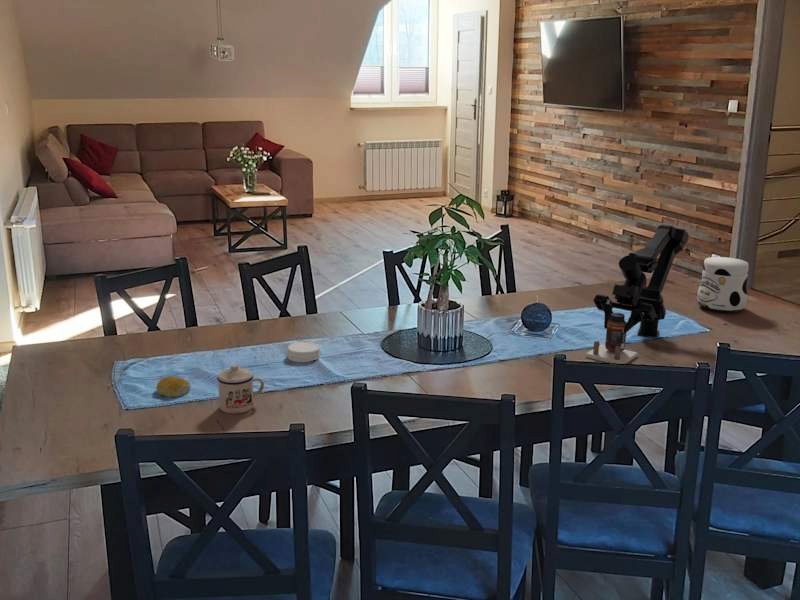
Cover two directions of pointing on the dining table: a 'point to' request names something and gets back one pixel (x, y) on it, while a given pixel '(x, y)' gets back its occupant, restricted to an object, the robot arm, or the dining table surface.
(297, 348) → the white short cylinder
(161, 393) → the bread roll
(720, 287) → the milk container
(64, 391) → the dining table surface
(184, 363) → the dining table surface
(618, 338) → the supplement bottle
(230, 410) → the teacup with lid
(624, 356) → the pegboard
